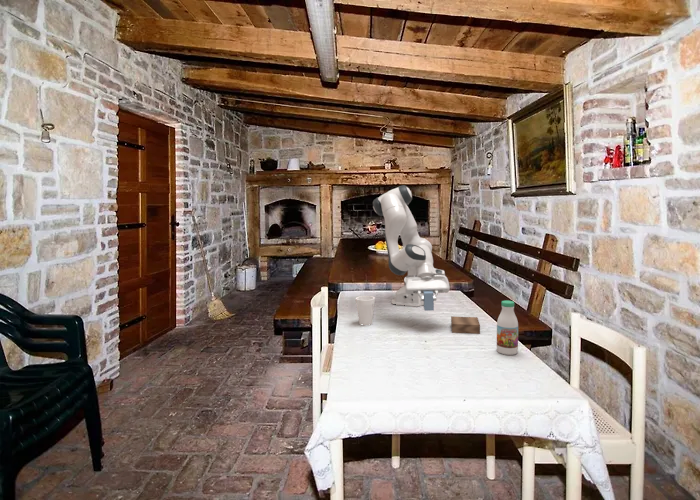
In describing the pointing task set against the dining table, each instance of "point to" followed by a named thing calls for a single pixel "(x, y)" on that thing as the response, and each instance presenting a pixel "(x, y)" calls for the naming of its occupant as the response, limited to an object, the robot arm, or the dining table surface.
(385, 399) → the dining table surface
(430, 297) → the tower block
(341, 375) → the dining table surface
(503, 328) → the milk bottle
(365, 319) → the foam cup
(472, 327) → the base brick
